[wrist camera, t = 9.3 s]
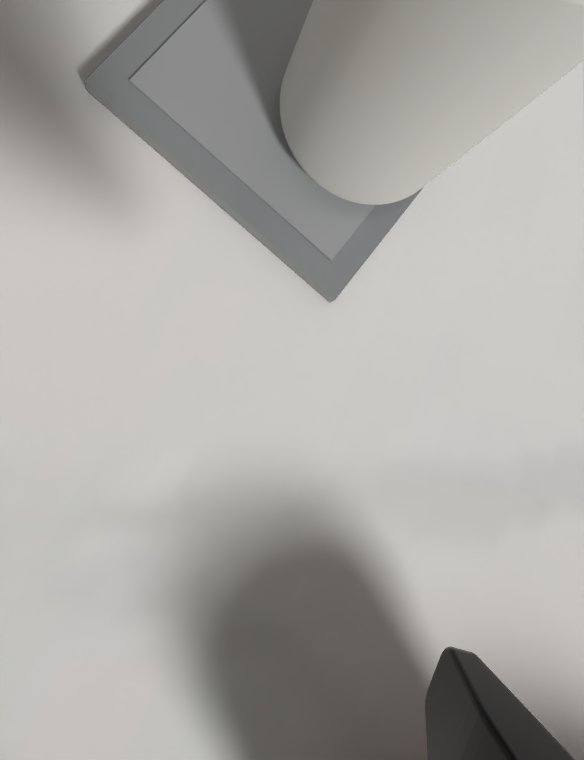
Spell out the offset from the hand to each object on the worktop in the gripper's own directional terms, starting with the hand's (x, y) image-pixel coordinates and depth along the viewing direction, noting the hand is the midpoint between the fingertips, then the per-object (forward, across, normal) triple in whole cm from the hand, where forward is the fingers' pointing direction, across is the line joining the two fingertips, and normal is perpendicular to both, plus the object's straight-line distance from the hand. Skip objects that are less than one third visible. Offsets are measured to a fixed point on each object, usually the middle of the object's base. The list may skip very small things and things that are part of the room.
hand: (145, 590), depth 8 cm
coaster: (+15, +1, -11) cm, 18 cm away
